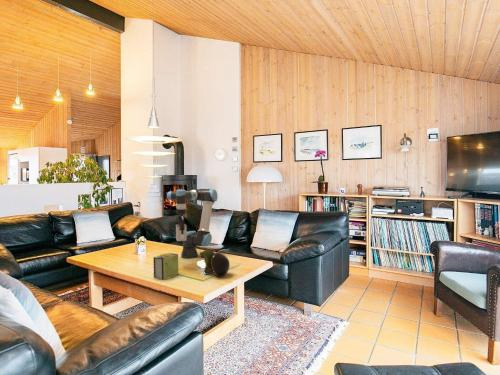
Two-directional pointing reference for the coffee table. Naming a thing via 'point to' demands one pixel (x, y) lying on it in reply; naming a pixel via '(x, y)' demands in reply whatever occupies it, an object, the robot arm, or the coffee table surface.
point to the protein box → (165, 266)
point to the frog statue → (215, 262)
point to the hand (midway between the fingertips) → (181, 237)
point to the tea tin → (179, 233)
